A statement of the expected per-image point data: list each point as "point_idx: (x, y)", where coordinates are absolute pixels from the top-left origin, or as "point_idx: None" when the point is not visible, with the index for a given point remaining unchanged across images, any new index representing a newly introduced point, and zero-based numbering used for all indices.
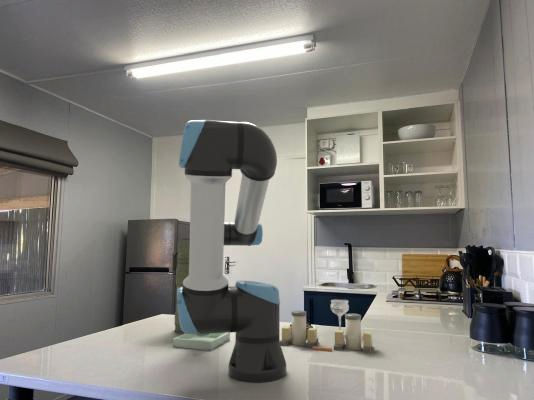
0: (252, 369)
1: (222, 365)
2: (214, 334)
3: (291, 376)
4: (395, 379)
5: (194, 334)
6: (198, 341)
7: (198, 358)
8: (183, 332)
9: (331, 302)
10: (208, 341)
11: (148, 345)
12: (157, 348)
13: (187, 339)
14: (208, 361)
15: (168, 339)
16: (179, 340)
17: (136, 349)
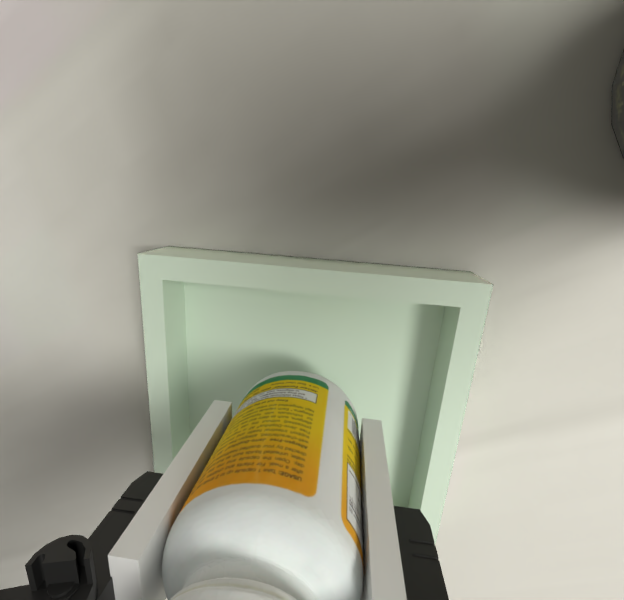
0: None
1: (15, 569)
2: (424, 454)
3: None
4: None
5: (261, 381)
6: (154, 443)
7: (43, 466)
8: (614, 106)
9: None
10: None
11: (127, 41)
12: (92, 165)
13: (155, 368)
14: (29, 514)
15: (341, 100)
16: (147, 308)
17: (6, 18)
